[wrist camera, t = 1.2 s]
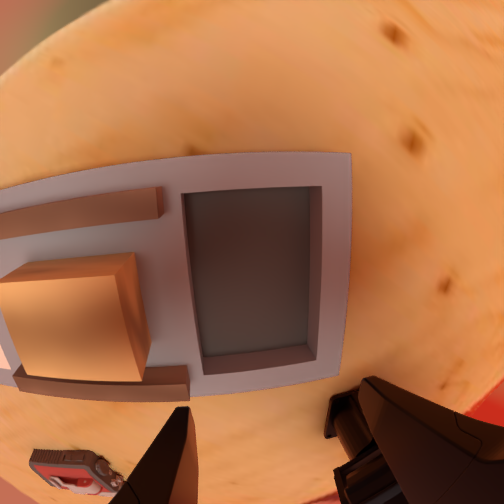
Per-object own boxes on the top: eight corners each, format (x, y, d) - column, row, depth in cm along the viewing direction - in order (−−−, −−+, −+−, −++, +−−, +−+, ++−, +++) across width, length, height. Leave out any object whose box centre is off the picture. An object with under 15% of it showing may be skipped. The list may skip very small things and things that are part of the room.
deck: (327, 357, 23) (338, 375, 20) (-23, 363, 18) (-34, 375, 16) (334, 154, 18) (351, 153, 16) (-66, 214, 14) (-82, 219, 11)
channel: (190, 381, 18) (189, 400, 17) (29, 376, 17) (19, 391, 15) (161, 186, 15) (155, 187, 13) (-19, 217, 13) (-36, 223, 11)
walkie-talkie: (65, 482, 24) (183, 480, 26) (59, 503, 20) (184, 509, 22) (26, 445, 22) (147, 442, 23) (16, 468, 18) (143, 475, 19)
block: (151, 342, 17) (141, 381, 13) (50, 342, 16) (27, 374, 12) (134, 251, 16) (114, 275, 12) (26, 262, 15) (-7, 283, 11)
